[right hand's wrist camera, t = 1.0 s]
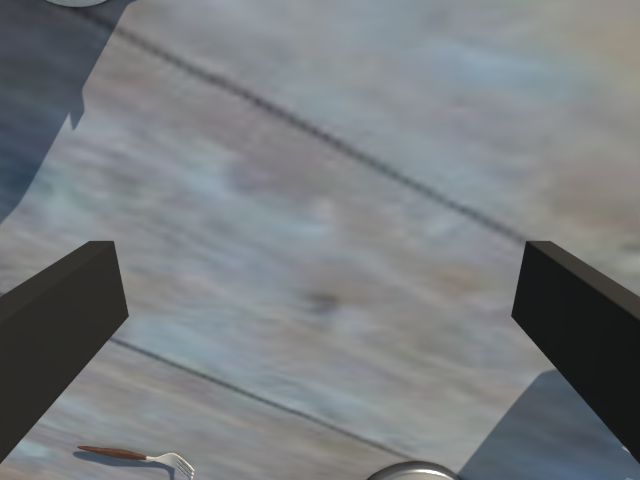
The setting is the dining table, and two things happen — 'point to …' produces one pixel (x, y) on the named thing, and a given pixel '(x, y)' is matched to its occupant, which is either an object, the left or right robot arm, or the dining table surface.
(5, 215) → the dining table surface
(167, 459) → the fork
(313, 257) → the dining table surface
